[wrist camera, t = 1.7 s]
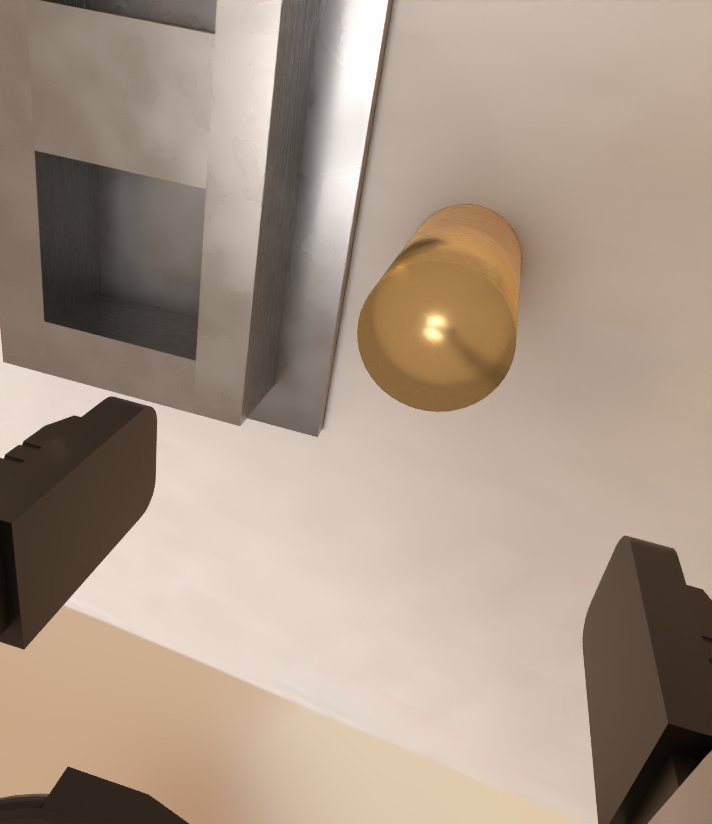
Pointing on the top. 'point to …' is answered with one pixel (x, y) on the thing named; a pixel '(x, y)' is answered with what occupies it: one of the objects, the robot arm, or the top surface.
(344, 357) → the top surface
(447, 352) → the gold and grey cylinder
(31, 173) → the jig
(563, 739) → the top surface
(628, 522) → the top surface
